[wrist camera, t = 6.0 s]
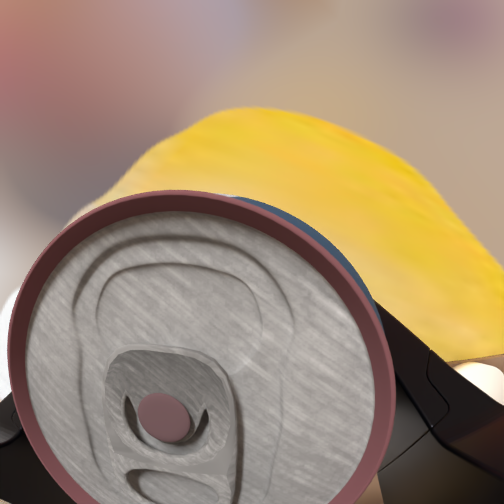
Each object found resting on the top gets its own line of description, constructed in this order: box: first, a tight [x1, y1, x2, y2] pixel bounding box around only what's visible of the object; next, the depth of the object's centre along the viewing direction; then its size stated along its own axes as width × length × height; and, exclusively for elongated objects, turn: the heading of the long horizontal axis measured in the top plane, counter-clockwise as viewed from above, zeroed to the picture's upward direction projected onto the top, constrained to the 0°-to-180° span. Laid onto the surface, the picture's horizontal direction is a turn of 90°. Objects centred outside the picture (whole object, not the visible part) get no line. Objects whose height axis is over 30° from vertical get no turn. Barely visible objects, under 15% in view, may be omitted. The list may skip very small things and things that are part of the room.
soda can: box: [7, 190, 396, 504], centre depth 9 cm, size 7×7×12 cm
